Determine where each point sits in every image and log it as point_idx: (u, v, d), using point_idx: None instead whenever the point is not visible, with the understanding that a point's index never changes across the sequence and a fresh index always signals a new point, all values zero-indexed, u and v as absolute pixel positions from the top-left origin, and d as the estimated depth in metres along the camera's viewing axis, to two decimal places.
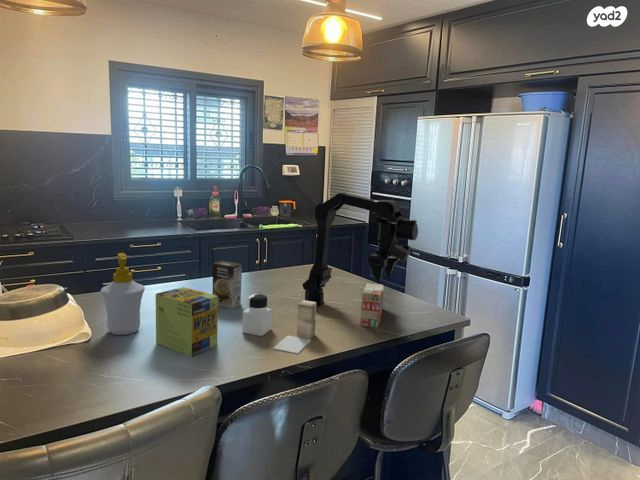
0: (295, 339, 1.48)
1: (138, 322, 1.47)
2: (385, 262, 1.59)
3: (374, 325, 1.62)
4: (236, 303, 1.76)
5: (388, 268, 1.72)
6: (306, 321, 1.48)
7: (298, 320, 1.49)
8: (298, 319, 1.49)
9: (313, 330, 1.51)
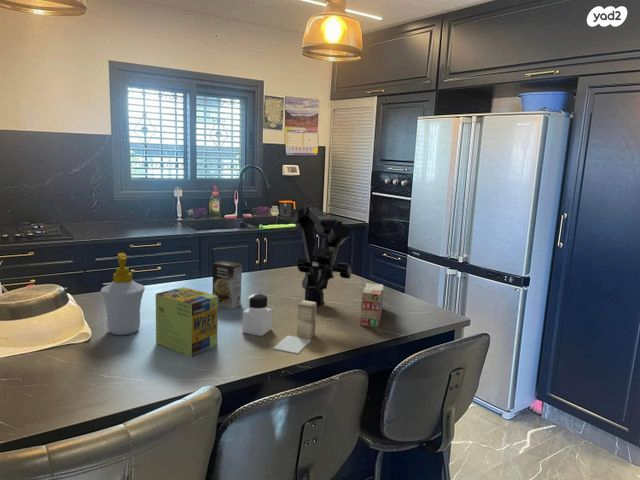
0: (295, 339, 1.48)
1: (138, 322, 1.47)
2: (301, 261, 1.61)
3: (374, 325, 1.62)
4: (236, 303, 1.76)
5: None
6: (306, 321, 1.48)
7: (298, 320, 1.49)
8: (298, 319, 1.49)
9: (313, 330, 1.51)
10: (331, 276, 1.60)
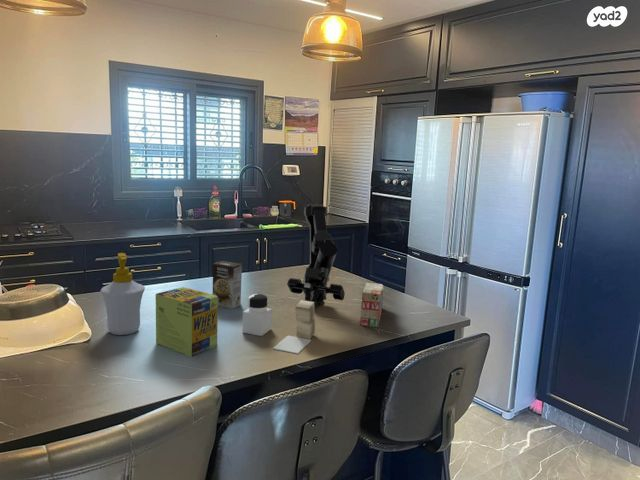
0: (295, 339, 1.48)
1: (138, 322, 1.47)
2: (292, 282, 1.56)
3: (374, 324, 1.63)
4: (236, 303, 1.76)
5: None
6: (305, 322, 1.47)
7: (297, 321, 1.48)
8: (297, 320, 1.48)
9: (313, 329, 1.51)
10: (324, 298, 1.55)
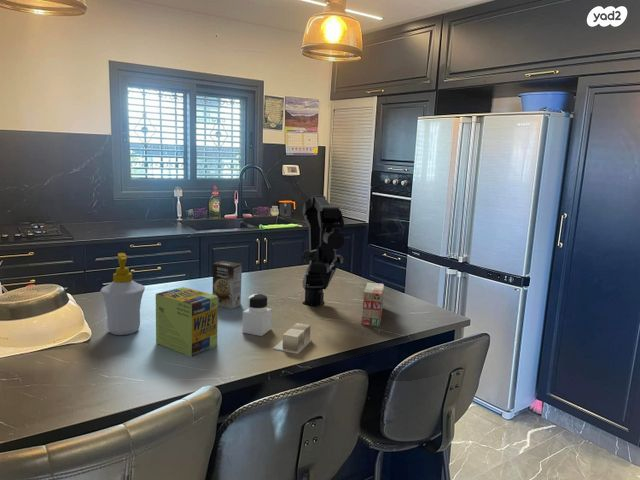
0: None
1: (138, 322, 1.47)
2: None
3: (375, 324, 1.63)
4: (236, 303, 1.76)
5: None
6: None
7: None
8: None
9: (308, 331, 1.46)
10: None
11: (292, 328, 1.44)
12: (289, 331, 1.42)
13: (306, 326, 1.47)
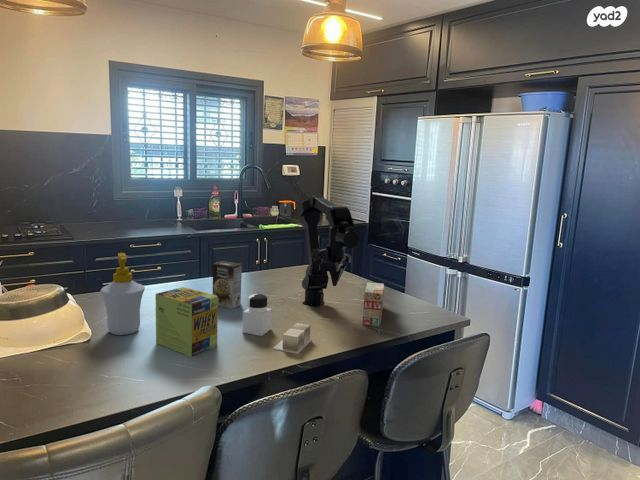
0: None
1: (138, 322, 1.47)
2: None
3: (376, 324, 1.63)
4: (236, 303, 1.76)
5: None
6: None
7: None
8: None
9: (308, 331, 1.46)
10: None
11: (292, 328, 1.44)
12: (289, 331, 1.42)
13: (306, 326, 1.47)
